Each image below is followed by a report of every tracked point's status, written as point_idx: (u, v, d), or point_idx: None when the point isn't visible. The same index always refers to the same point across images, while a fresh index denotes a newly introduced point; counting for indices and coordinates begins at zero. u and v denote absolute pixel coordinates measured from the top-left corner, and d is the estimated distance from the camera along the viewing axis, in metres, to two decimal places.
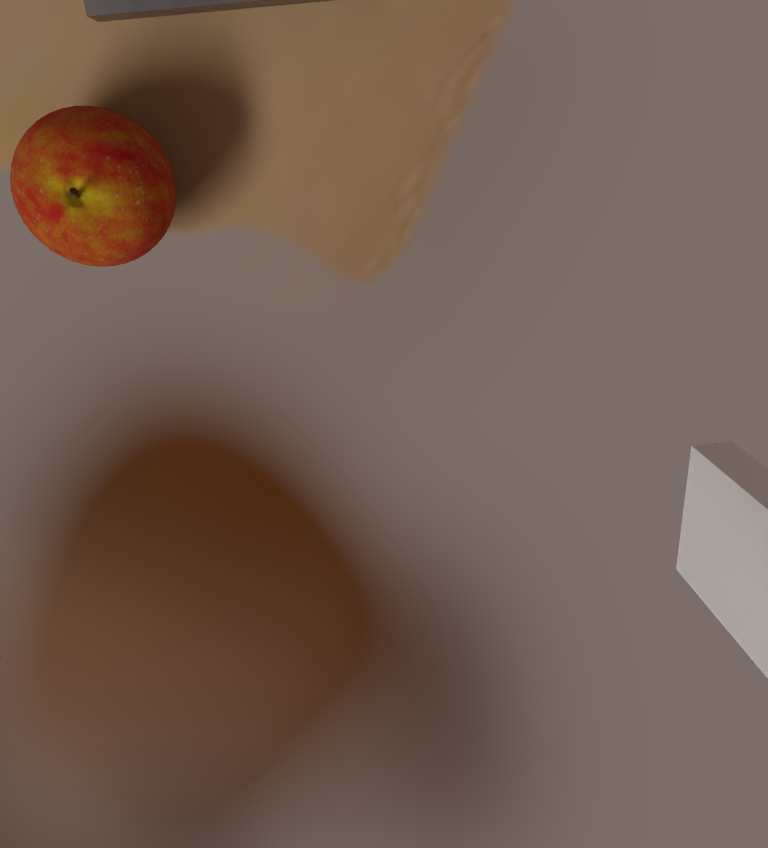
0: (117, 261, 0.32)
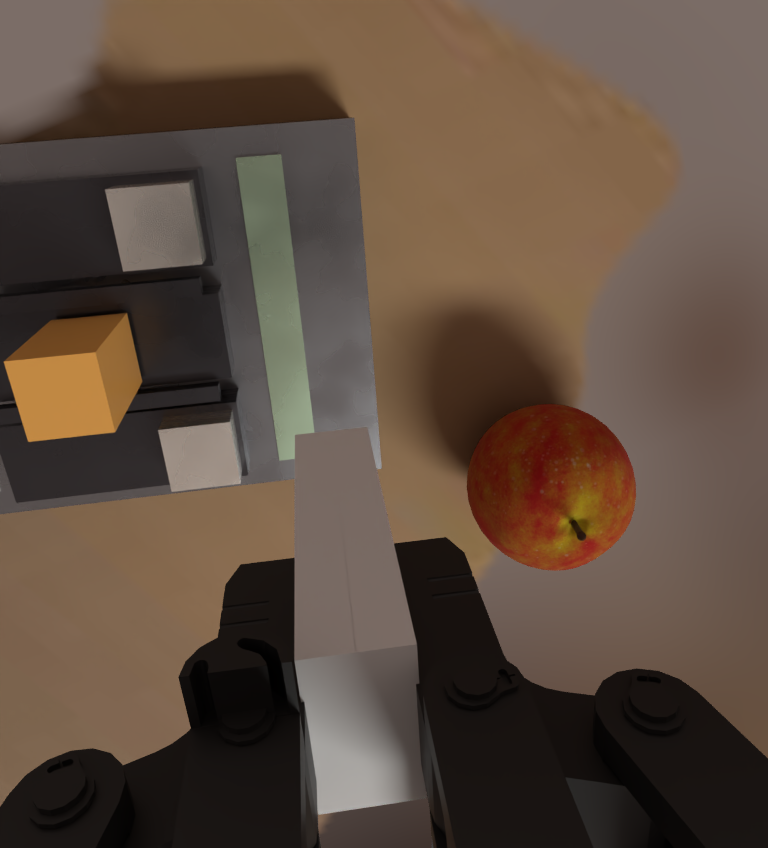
0: None
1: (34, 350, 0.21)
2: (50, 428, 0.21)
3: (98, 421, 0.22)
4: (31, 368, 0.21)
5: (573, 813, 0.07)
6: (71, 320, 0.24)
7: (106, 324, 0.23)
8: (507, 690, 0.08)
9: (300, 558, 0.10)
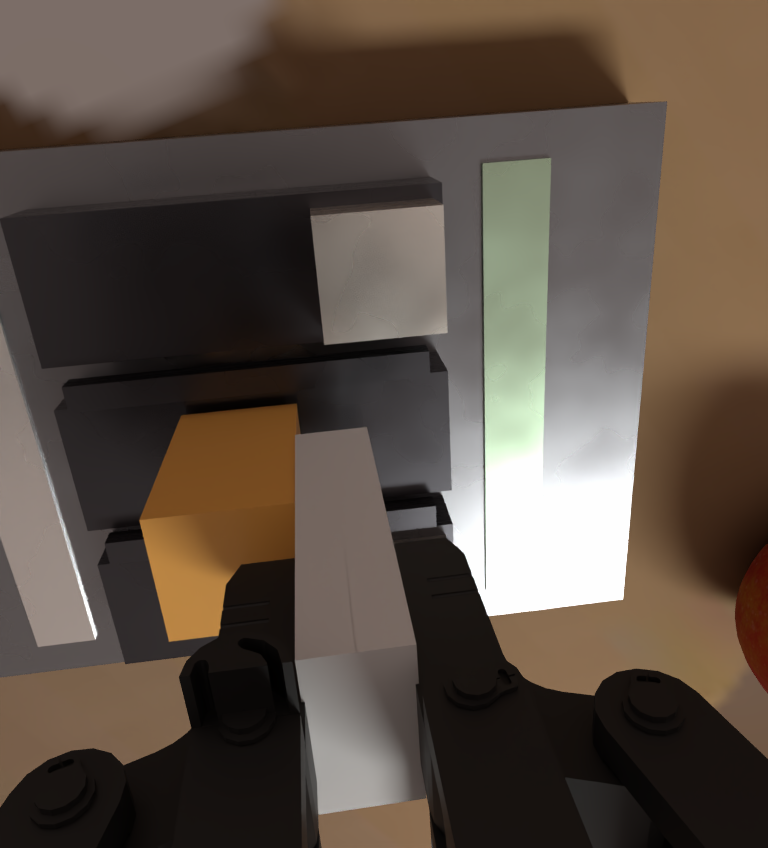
0: None
1: (183, 490, 0.13)
2: (206, 620, 0.13)
3: None
4: (184, 530, 0.12)
5: (572, 813, 0.07)
6: (215, 417, 0.16)
7: (277, 429, 0.15)
8: (506, 690, 0.08)
9: (300, 558, 0.10)
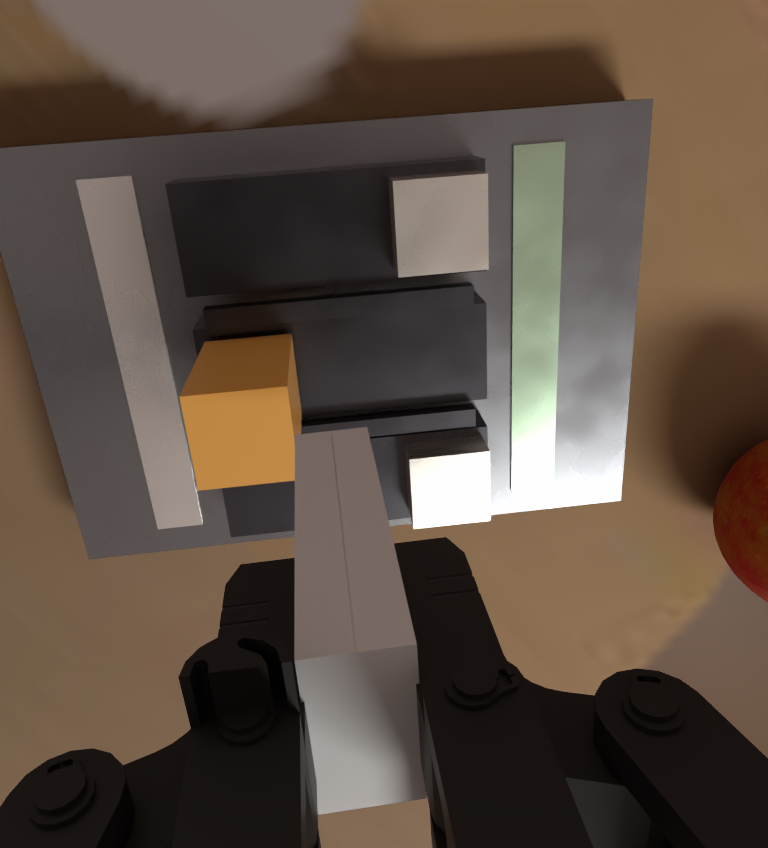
0: None
1: (208, 382, 0.18)
2: (224, 475, 0.18)
3: (281, 467, 0.18)
4: (210, 405, 0.17)
5: (573, 813, 0.07)
6: (230, 342, 0.21)
7: (276, 348, 0.20)
8: (507, 690, 0.08)
9: (300, 558, 0.10)
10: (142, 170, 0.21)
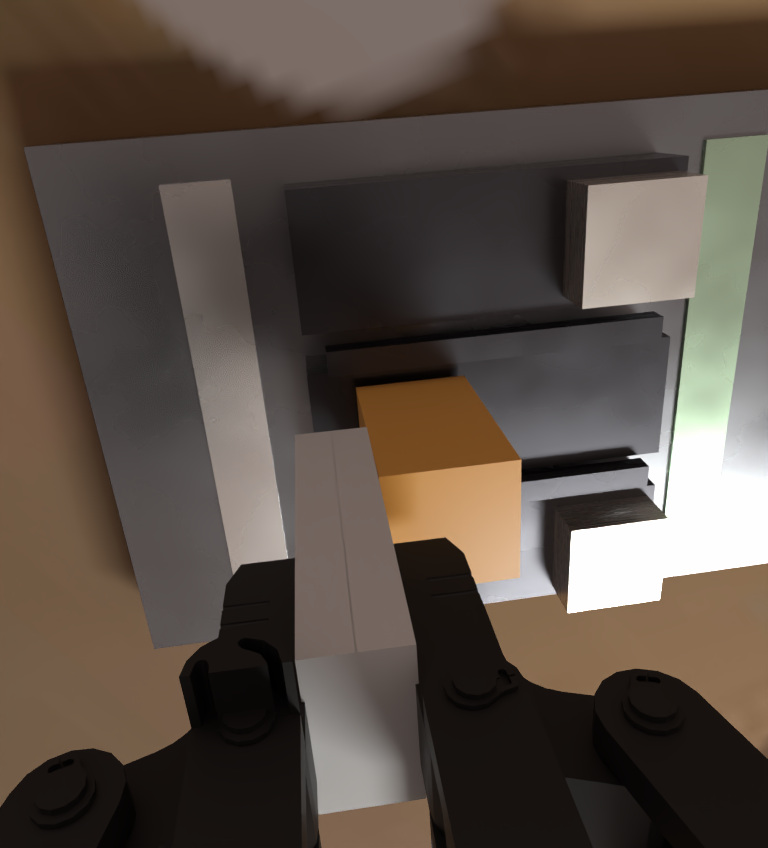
0: None
1: (404, 452, 0.13)
2: None
3: (499, 562, 0.14)
4: (418, 486, 0.13)
5: (572, 813, 0.07)
6: (390, 388, 0.16)
7: (460, 398, 0.16)
8: (506, 690, 0.08)
9: (300, 558, 0.10)
10: (244, 172, 0.16)
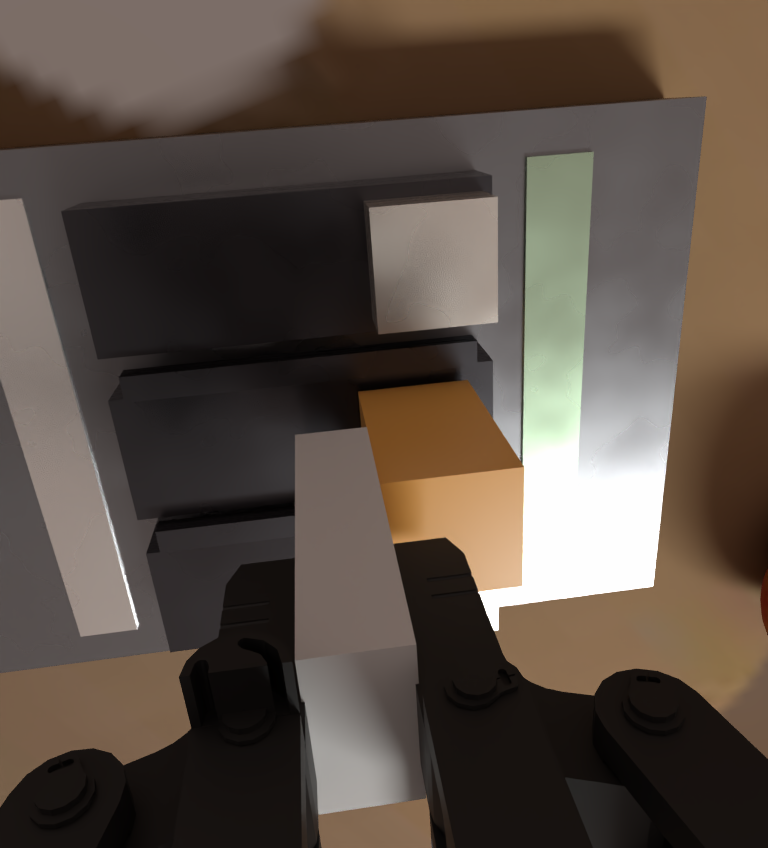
0: None
1: (405, 458, 0.13)
2: None
3: (501, 571, 0.13)
4: (419, 493, 0.12)
5: (572, 813, 0.07)
6: (393, 392, 0.16)
7: (463, 403, 0.15)
8: (506, 690, 0.08)
9: (300, 558, 0.10)
10: (37, 191, 0.16)
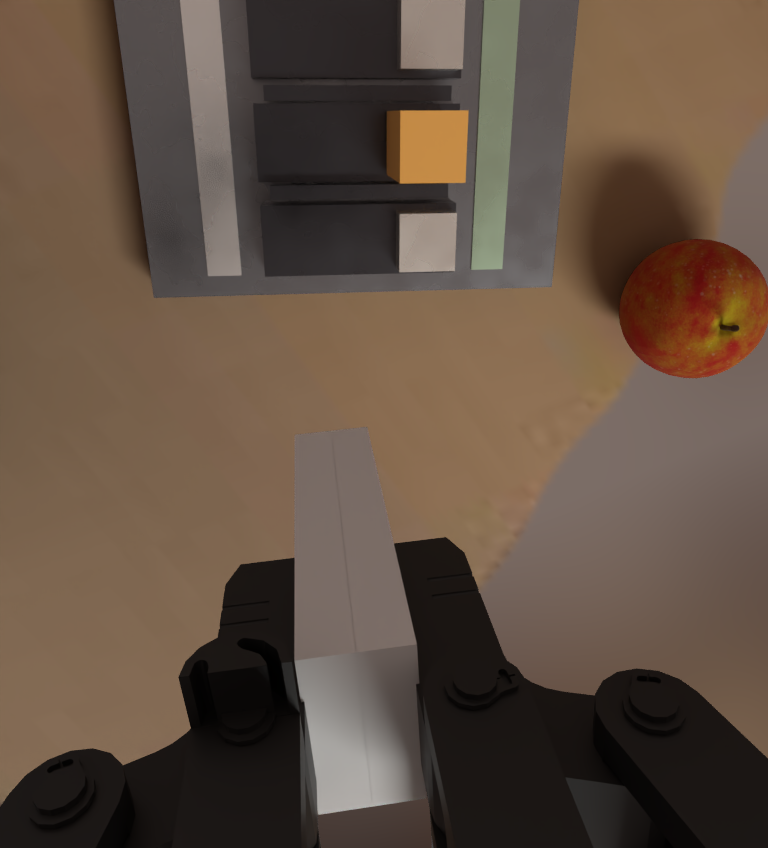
0: None
1: None
2: (418, 173, 0.27)
3: (455, 171, 0.27)
4: (418, 119, 0.27)
5: (573, 813, 0.07)
6: None
7: None
8: (507, 690, 0.08)
9: (300, 558, 0.10)
10: None
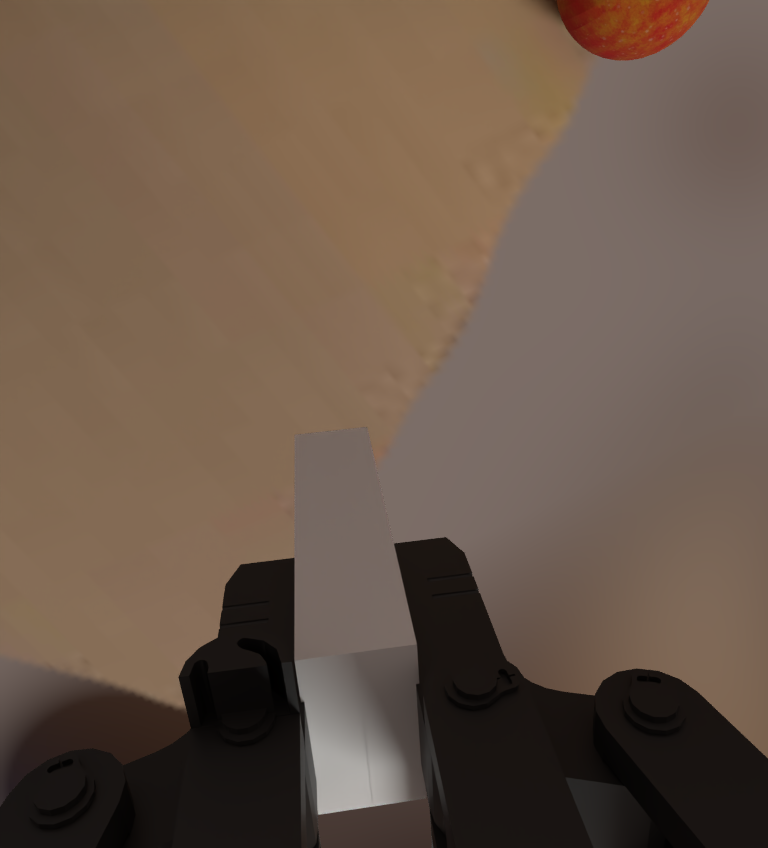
0: None
1: None
2: None
3: None
4: None
5: (573, 813, 0.07)
6: None
7: None
8: (507, 690, 0.08)
9: (300, 558, 0.10)
10: None
